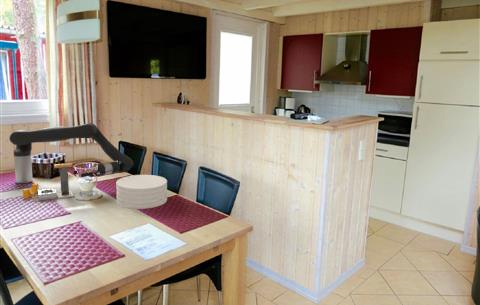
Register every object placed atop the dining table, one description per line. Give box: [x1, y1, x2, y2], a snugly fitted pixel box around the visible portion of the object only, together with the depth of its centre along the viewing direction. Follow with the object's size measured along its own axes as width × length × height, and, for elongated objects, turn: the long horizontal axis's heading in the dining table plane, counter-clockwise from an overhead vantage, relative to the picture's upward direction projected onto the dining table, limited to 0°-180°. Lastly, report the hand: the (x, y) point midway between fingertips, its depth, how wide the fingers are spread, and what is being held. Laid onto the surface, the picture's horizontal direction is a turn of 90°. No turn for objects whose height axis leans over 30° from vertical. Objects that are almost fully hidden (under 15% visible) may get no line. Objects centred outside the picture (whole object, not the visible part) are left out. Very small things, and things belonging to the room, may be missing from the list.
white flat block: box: [37, 187, 58, 202], centre depth 202 cm, size 9×9×4 cm
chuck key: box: [54, 162, 73, 195], centre depth 205 cm, size 4×9×18 cm, turn 122°
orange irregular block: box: [22, 183, 40, 199], centre depth 205 cm, size 12×4×6 cm, turn 4°
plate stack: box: [115, 174, 168, 210], centre depth 208 cm, size 28×28×12 cm
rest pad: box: [56, 191, 75, 199], centre depth 207 cm, size 8×8×1 cm
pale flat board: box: [31, 191, 76, 203], centre depth 204 cm, size 11×21×2 cm, turn 122°
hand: (77, 174), depth 210 cm, fingers open, 8 cm apart
